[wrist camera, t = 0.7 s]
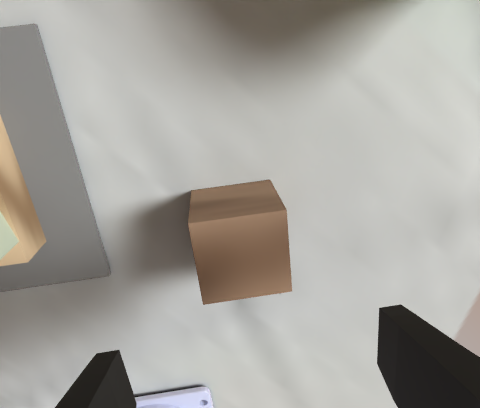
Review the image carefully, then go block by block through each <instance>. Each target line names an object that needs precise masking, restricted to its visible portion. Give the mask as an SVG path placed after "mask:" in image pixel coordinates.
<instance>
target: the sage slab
mask: <svg viewBox="0 0 480 408" xmlns="http://www.w3.org/2000/svg"><path fill="white" fill-rule="evenodd" d="M18 242H19V240H18V239H17V237H16V236H15V234H14V232H13V231H12V229H11V228H10V226H9V224H8V223H7V221H6V219H5V218H4V216H3V215H2V213H1V211H0V260H1V259H2V258H3V257H4V256H5V255H6V254H7V253H8V252H9V251H10V250H11V249H12V248H13V247H14V246H15V245H16V244H17V243H18Z"/></svg>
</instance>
